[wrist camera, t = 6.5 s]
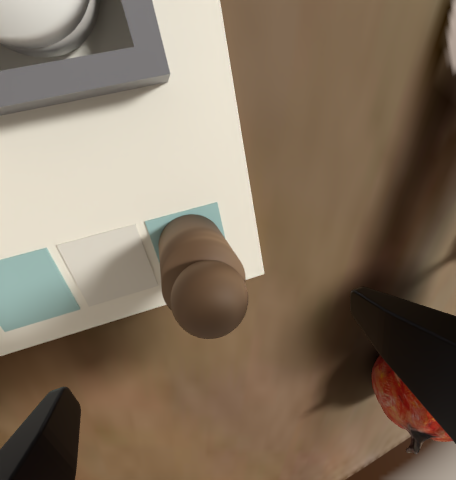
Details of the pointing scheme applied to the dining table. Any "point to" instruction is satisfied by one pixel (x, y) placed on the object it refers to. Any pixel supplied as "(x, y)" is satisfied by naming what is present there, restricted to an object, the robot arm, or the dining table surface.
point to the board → (118, 180)
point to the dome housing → (91, 69)
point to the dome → (46, 25)
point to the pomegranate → (404, 407)
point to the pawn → (201, 277)
